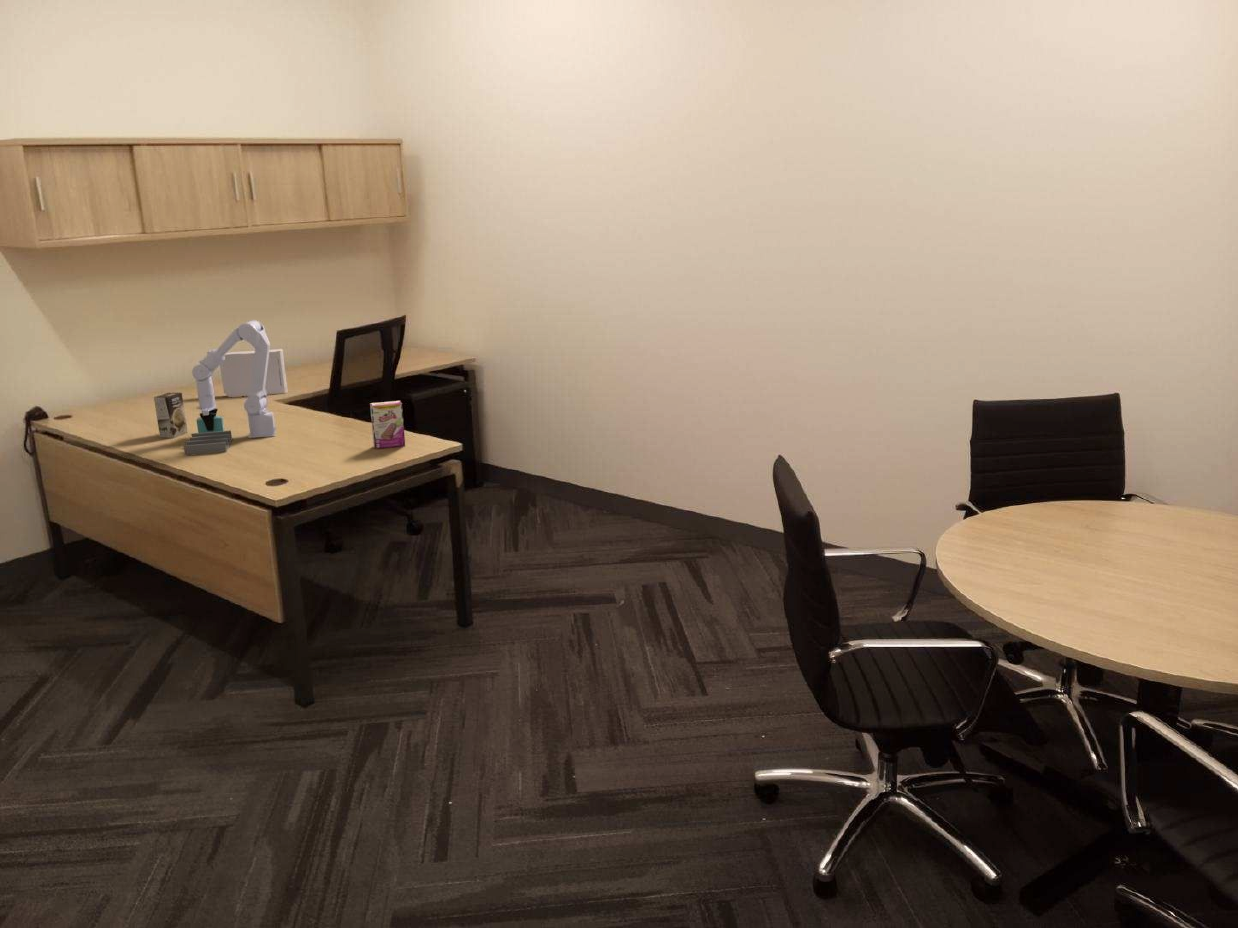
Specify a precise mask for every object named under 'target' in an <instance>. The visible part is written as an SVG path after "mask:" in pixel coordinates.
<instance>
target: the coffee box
mask: <svg viewBox="0 0 1238 928" xmlns="http://www.w3.org/2000/svg"><path fill="white" fill-rule="evenodd" d="M153 401H154V407H155V414H156V420H157V421H156V422H157V426H158V434H159V438H164V437H165V439H166V437H167V439H174V438H173V437H175V438H177V437H179V435H180V436H182V435H184V434H186V432H187V433H188V432H189V430H188V424H187V419H186V411H185V405H184V399H183V393H182V392H167V393H164V394H163V393H162V394H160V395H157V396H156V395H155V396H154V397H153Z"/></svg>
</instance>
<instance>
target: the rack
mask: <svg viewBox="0 0 1238 928" xmlns="http://www.w3.org/2000/svg"><path fill="white" fill-rule="evenodd" d="M232 441H233V435H232V430H225V431H218V432H206V433H198V432H196V433H191V437H190V436H189V437H188V441H186V442H185V443H186V444H185V445H183V449H184V456H185V455H186V456H190V455H189V454H198V455H206V454H207V455H208V454H209V455H210V454H219V453H220V454H221V453H227V451H228V449H229V448H230V445H231V442H232Z"/></svg>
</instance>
